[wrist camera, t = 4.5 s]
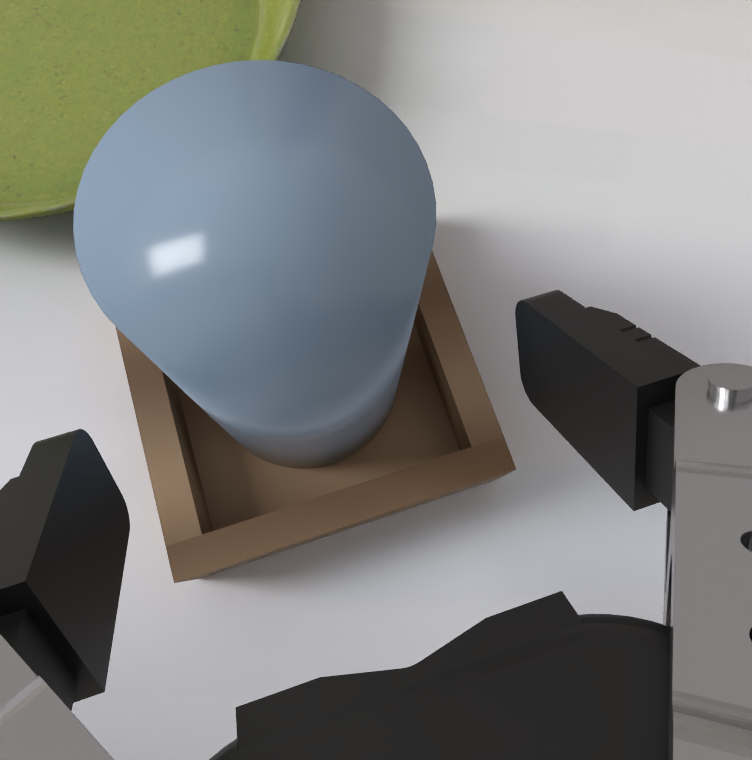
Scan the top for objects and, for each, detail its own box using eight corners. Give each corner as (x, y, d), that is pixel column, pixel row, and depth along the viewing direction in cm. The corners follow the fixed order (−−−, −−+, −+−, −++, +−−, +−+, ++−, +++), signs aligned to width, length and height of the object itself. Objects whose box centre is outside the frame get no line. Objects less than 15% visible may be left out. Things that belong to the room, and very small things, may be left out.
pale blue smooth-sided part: (421, 436, 19) (487, 318, 10) (237, 493, 19) (111, 427, 9) (350, 226, 21) (345, -43, 12) (181, 271, 21) (29, 23, 11)
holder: (496, 478, 20) (516, 469, 18) (196, 579, 19) (174, 582, 16) (399, 218, 22) (404, 180, 20) (128, 292, 21) (100, 260, 19)
